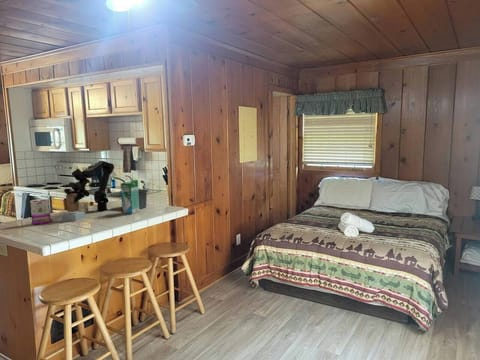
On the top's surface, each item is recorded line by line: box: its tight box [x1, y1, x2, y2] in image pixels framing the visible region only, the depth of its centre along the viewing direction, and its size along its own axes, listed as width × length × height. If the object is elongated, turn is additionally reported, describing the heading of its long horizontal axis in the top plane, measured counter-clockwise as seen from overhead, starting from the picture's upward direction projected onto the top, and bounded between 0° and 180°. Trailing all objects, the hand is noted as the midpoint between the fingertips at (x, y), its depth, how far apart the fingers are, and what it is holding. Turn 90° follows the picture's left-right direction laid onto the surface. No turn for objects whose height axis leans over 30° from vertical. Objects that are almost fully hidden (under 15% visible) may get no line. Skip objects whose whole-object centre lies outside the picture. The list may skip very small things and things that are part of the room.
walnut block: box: [65, 194, 80, 213], centre depth 251 cm, size 6×6×12 cm
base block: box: [60, 211, 87, 222], centre depth 252 cm, size 11×11×4 cm
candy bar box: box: [29, 198, 52, 226], centre depth 240 cm, size 11×5×16 cm, turn 117°
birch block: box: [77, 201, 89, 214], centre depth 273 cm, size 5×5×8 cm
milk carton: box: [120, 179, 140, 215], centre depth 269 cm, size 9×9×25 cm
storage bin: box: [119, 188, 149, 210], centre depth 290 cm, size 21×16×14 cm
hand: (71, 202), depth 249 cm, fingers closed on walnut block, 5 cm apart
